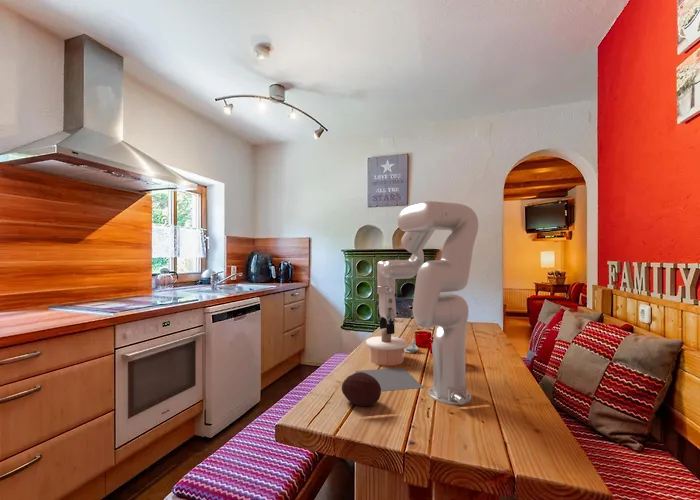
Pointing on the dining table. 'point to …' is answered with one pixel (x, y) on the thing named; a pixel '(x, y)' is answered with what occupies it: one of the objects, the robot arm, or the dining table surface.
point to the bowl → (386, 356)
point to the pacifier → (411, 347)
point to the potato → (361, 389)
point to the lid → (386, 342)
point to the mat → (393, 379)
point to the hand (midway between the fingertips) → (386, 331)
